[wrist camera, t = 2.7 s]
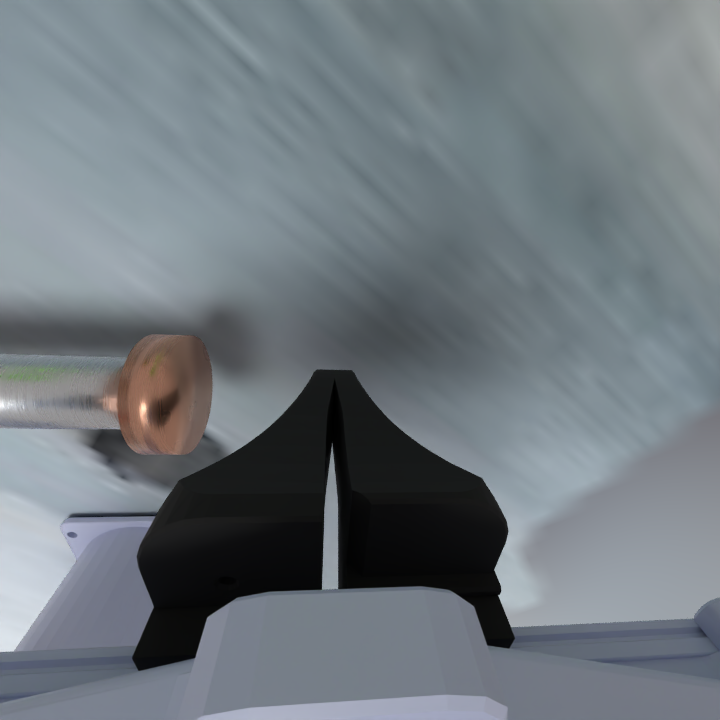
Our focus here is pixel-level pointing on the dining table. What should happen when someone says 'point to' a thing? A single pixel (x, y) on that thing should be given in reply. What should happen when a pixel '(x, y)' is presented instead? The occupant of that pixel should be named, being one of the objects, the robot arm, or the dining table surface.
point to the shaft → (115, 393)
